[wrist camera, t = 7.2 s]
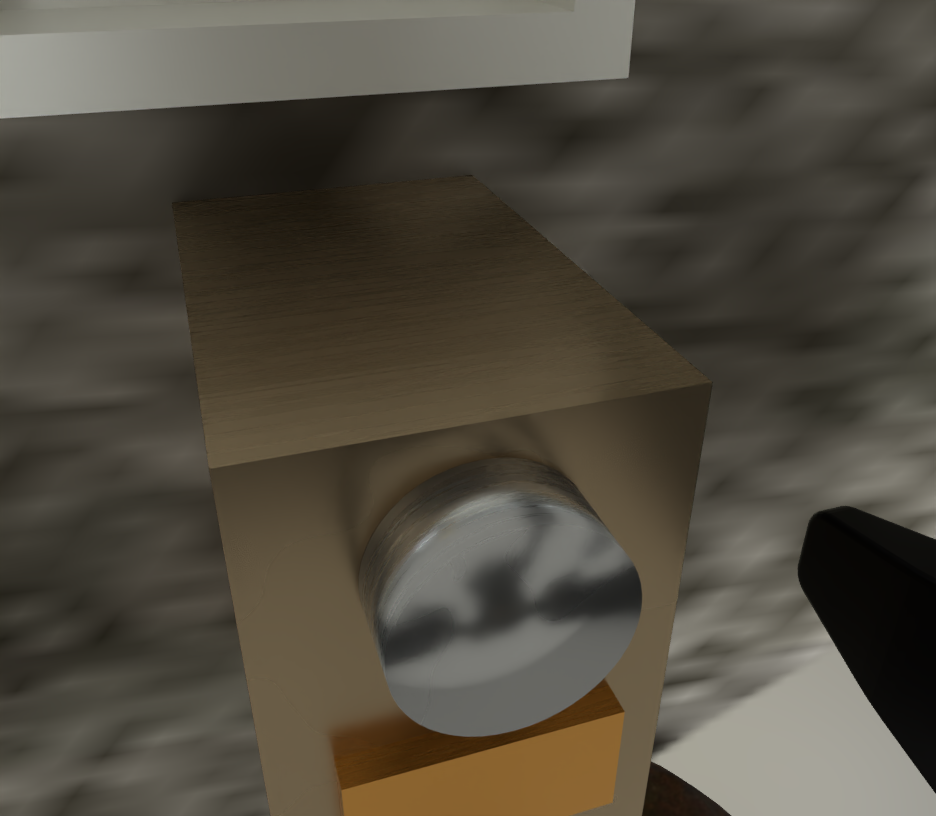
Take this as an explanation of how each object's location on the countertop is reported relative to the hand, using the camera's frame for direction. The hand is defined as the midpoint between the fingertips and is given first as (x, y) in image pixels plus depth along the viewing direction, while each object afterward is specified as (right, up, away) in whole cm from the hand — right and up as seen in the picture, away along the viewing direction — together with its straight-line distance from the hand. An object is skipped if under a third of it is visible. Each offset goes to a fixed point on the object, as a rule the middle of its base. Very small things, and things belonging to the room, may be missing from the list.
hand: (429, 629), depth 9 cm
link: (-1, +2, +3) cm, 4 cm away
